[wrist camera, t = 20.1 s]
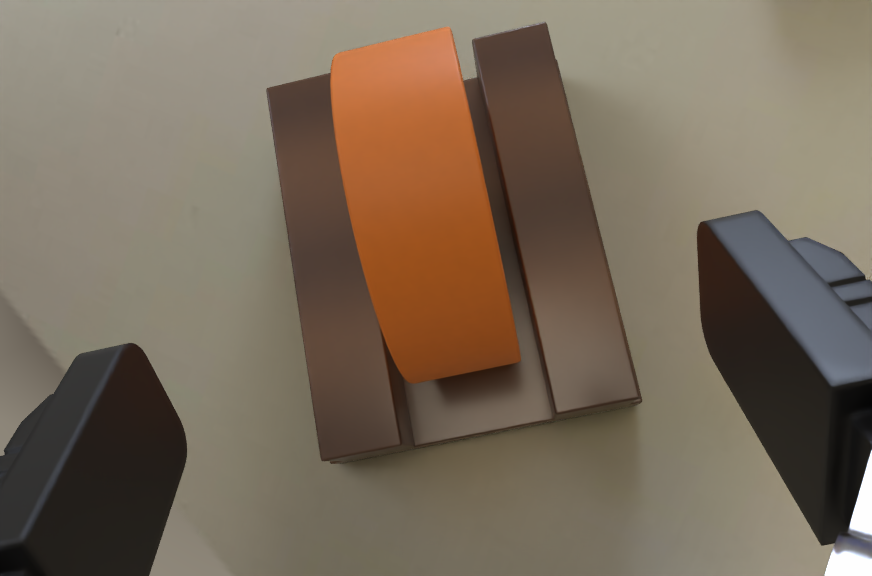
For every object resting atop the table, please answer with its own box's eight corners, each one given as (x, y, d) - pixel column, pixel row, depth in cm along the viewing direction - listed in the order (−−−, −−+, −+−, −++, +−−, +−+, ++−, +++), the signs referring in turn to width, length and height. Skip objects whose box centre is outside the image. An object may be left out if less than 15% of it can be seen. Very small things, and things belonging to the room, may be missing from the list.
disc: (383, 141, 27) (307, -20, 18) (468, 121, 26) (434, -52, 17) (431, 397, 24) (371, 362, 15) (523, 379, 24) (517, 331, 15)
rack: (288, 136, 28) (253, 90, 25) (555, 74, 28) (558, 17, 24) (338, 463, 26) (307, 464, 22) (638, 405, 25) (655, 395, 21)
